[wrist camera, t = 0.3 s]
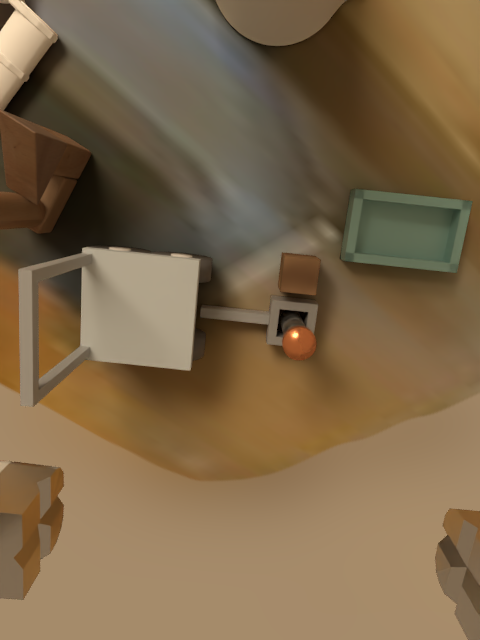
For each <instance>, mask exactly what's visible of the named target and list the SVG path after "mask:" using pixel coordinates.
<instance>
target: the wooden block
mask: <svg viewBox="0 0 480 640" xmlns="http://www.w3.org/2000/svg"><path fill="white" fill-rule="evenodd" d="M0 131H1V140H2V149H3V158H4V167H5V176H6V185H7V187H8V188H10V189H12V190H13V191H15V192H17V193H11V192H0V229H14V228H29V229H30V230H32V231H34V232H35V233H38V234H40V233H49V232H51V231H52V230H53V228H54V226H55V224H56V222H57V220H58V218H59V216H60V214H61V212H62V210H63V208H64V206H65V204H66V202H67V200H68V199H69V197H70V195H71V193H72V191H73V189H74V187H75V185H76V183H77V180H76V179H78V178H79V177H80V175H81V173H82V171H83V169H84V168H85V166H86V164H87V162H88V160H89V158H90V156H91V152H90V151H89V150H88V149H86V148H84V147H83V146H81V145H80V144H78V143H77V142H75V141H73V140H72V139H70V138H69V137H67V136H65V135H62V134H60V133H57V132H55V131H52V130H50V129H48V128H45V127H43V126H39V125H37V124H35V123H32V122H30V121H28V120H25V119H23V118H20V117H18V116H15V115H13V114H10V113H8V112H6V111H3V110H1V109H0Z"/></svg>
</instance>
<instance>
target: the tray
mask: <svg viewBox="0 0 480 640" xmlns="http://www.w3.org/2000/svg"><path fill="white" fill-rule="evenodd" d="M471 206H472V201H466V200H456V199H447V198H438V197H428V196H419V195H410V194H400V193H391V192H382V191H372V190H363V189H352V190H351V192H350V198H349V204H348V211H347V217H346V223H345V230H344V236H343V243H342V249H341V255H340V259H342V260H343V261H349V262H359V263H368V264H378V265H387V266H396V267H406V268H415V269H425V270H434V271H443V272H453V273H457V269H458V265H459V260H460V256H461V251H462V247H463V242H464V238H465V233H466V228H467V224H468V219H469V215H470V210H471Z"/></svg>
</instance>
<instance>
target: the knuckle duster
mask: <svg viewBox="0 0 480 640" xmlns="http://www.w3.org/2000/svg"><path fill="white" fill-rule="evenodd" d="M0 3H4V4H8V3H10V4H11V5H12V6H13V7H14V8H15V9H16V10H15V11H14V12H13V14H12V15H11V17H10V18H9V20H8V21H7V22H6V24H5V25H4V27H3V28H2V30H1V31H0V109H1V110H4V109H5V108H6V106H7V105H8V104H9V102H10V101H11V99H12V98H13V97H14V95H15V94H16V93H17V91H18V90H19V89H20V87H21V86H22V84H23V83H24V82H27V80H28V79H29V75H30V73H31V72H32V71H33V69H34V68H35V67H36V65H37V64H38V62H39V61H40V60H41V58H42V57H43V56H44V54H45V53H46V51H47V50H48V49H49V47H50V46H51V45H52V43H55V42H56V41H57V39H58V37H57V36H58V35H57V34H56V33H55V32H54V31H53V30H52V29H51V28H50V27H49V26H48V25H47V24H46V23H45V22H44V21H43V20H42V19H41V18H40V17H39V16H37V15H36V14H35V13H34V12H33V11H32V10H31V9H30V8H29V7H28V6H27V5H26V4H25V0H0Z"/></svg>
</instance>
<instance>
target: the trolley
mask: <svg viewBox="0 0 480 640" xmlns="http://www.w3.org/2000/svg"><path fill="white" fill-rule="evenodd" d="M212 260H213V259H212V258H210V257H207V256H202V255H196V254H188V253H178V252H152V253H151V251H149V250H144V249H139V248H132V247H122V246H88V247H85V248H82V253H80V254H76V255H72V256H68V257H64V258H60V259H57V260H53V261H49V262H45V263H41V264H37V265H33V266H29V267H25V268H21V269H19V333H20V398H21V406H29V407H34V406H35V405H36V404H37V403H38V402H39V401H40V400H41V399H42V398H43V397H45V396H46V395H47V394H48V393H49V392H50V391H51V390H52V389H53V388H54V387H56V386H57V385H58V384H59V383H60V382H61V381H62V380H63V379H64V378H65V377H67V376H68V375H69V374H70V373H71V372H72V371H73V370H74V369H75V368H76V367H78V366H79V365H80V364H81V363H82V362H83V361H84V360H93V361H103V362H112V363H122V364H132V365H141V366H151V367H160V368H170V369H179V370H189V371H190V370H191V367H192V361H194V360H198V359H200V358H202V357H203V356H204V350H205V339H206V333H205V332H204V331H202V330H200V329H197V328H195V322H196V309H197V297H198V285H199V283H203V282H209V281H210V280H211V271H212ZM81 267H82V290H81V343H80V347H79V348H77V349H76V350H75V351H74V352H72V353H71V354H70V355H69V356H67V357H66V358H65V359H64V360H62V361H61V362H60V363H59V364H57V365H56V366H55V367H54V368H52V369H51V370H50V371H49V372H47V373H46V374H45V375H44V376H42V377H41V378H40V379H39V343H38V282H39V281H42V280H45V279H48V278H51V277H54V276H57V275H60V274H63V273H66V272H69V271H72V270H75V269H78V268H81ZM280 309H283V310H293V311H302V312H305V313H304V321H303V322H304V324H305V327H307V328H309V329H310V330H311V331H312V332H313V334H314V330H315V324H316V317H317V310H318V304H317V302H316V301H315V300H312V299H303V298H293V297H284V296H275V295H271V299H270V307H269V312H267V311H258V310H248V309H239V308H229V307H220V306H210V305H202V306H201V312H200V317H201V318H210V319H220V320H229V321H239V322H248V323H258V324H267V332H266V342H267V344H271V345H280V346H283V345H282V338H283V331H277V326H278V318H279V311H280Z"/></svg>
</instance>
